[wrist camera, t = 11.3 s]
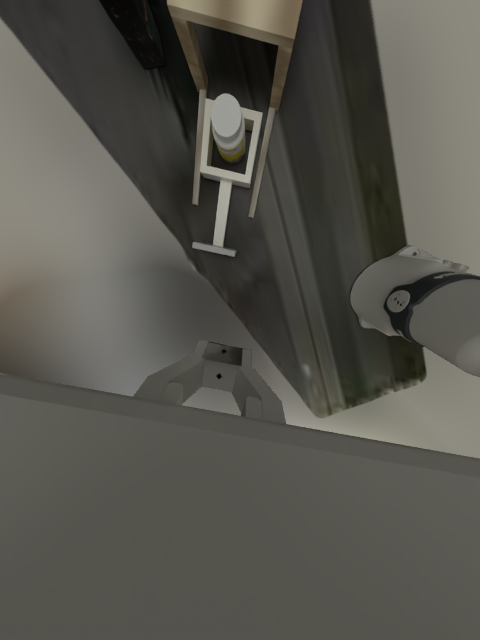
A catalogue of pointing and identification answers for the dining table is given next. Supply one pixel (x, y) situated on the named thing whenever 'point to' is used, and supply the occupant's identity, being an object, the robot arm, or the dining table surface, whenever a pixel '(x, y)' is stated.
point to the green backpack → (137, 29)
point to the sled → (226, 175)
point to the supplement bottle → (228, 128)
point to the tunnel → (247, 20)
